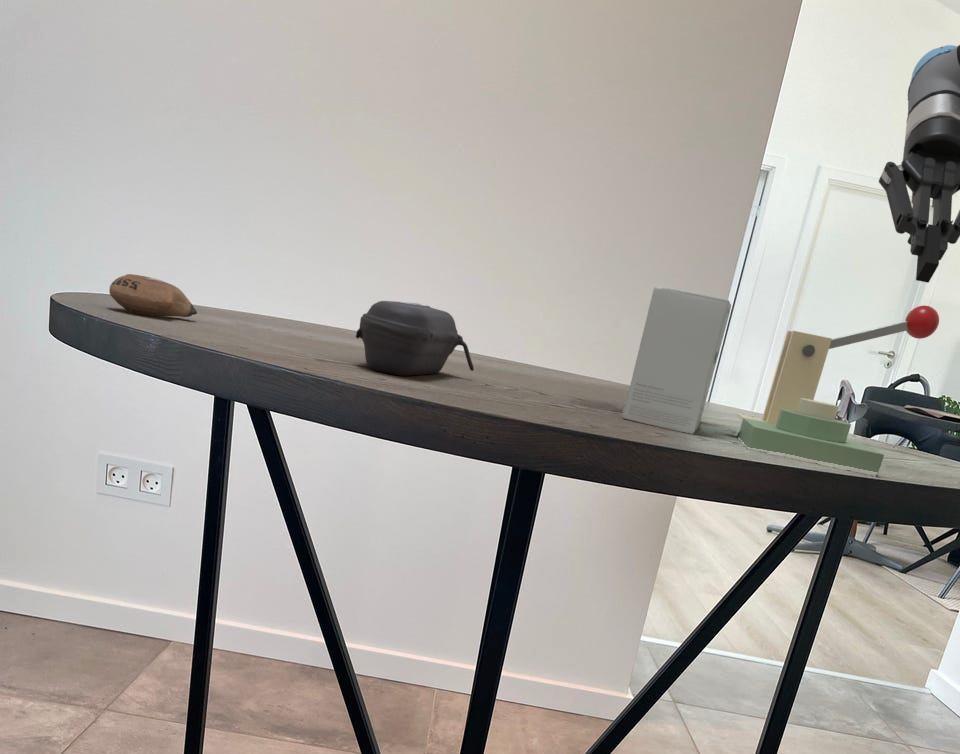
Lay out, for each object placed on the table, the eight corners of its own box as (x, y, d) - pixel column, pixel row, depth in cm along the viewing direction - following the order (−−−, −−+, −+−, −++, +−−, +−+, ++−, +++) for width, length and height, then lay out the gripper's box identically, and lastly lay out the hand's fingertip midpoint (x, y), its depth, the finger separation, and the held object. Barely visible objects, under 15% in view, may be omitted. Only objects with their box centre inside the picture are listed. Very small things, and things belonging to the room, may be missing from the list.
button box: (854, 463, 98) (866, 424, 96) (876, 477, 88) (891, 434, 87) (737, 438, 99) (748, 399, 97) (747, 450, 89) (759, 406, 88)
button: (829, 422, 94) (835, 404, 93) (836, 426, 90) (842, 407, 90) (792, 414, 94) (798, 396, 94) (798, 417, 91) (804, 399, 90)
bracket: (815, 440, 119) (845, 342, 115) (827, 447, 112) (859, 343, 108) (735, 423, 120) (762, 326, 116) (741, 429, 113) (771, 325, 109)
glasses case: (379, 349, 107) (414, 285, 104) (457, 402, 107) (494, 340, 104) (323, 348, 90) (364, 272, 87) (416, 411, 90) (460, 337, 87)
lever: (935, 334, 112) (932, 302, 111) (944, 334, 108) (941, 301, 107) (792, 368, 115) (787, 337, 114) (797, 369, 112) (792, 337, 111)
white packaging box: (694, 435, 92) (730, 299, 88) (620, 419, 94) (652, 284, 90) (700, 430, 99) (733, 303, 95) (630, 415, 101) (660, 289, 97)
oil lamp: (193, 333, 100) (193, 328, 108) (202, 295, 99) (201, 292, 106) (103, 305, 97) (109, 302, 104) (112, 265, 96) (117, 264, 103)
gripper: (973, 178, 125) (968, 307, 115) (873, 160, 127) (859, 286, 116) (1002, 125, 119) (1000, 257, 108) (896, 106, 120) (883, 235, 110)
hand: (927, 272), depth 112 cm, fingers closed
